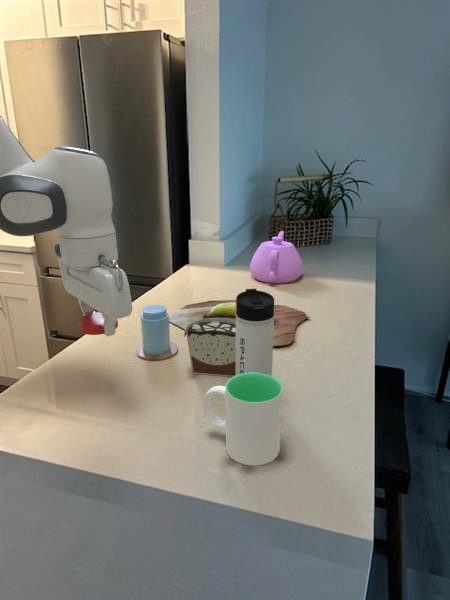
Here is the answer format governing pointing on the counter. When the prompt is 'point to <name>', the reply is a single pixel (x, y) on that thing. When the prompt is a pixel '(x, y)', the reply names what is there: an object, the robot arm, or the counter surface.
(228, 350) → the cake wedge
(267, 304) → the travel mug
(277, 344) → the cutting board
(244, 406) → the mug
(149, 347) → the jar
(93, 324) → the lid
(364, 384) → the counter surface
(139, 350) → the coaster
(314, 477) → the counter surface
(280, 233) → the teapot
